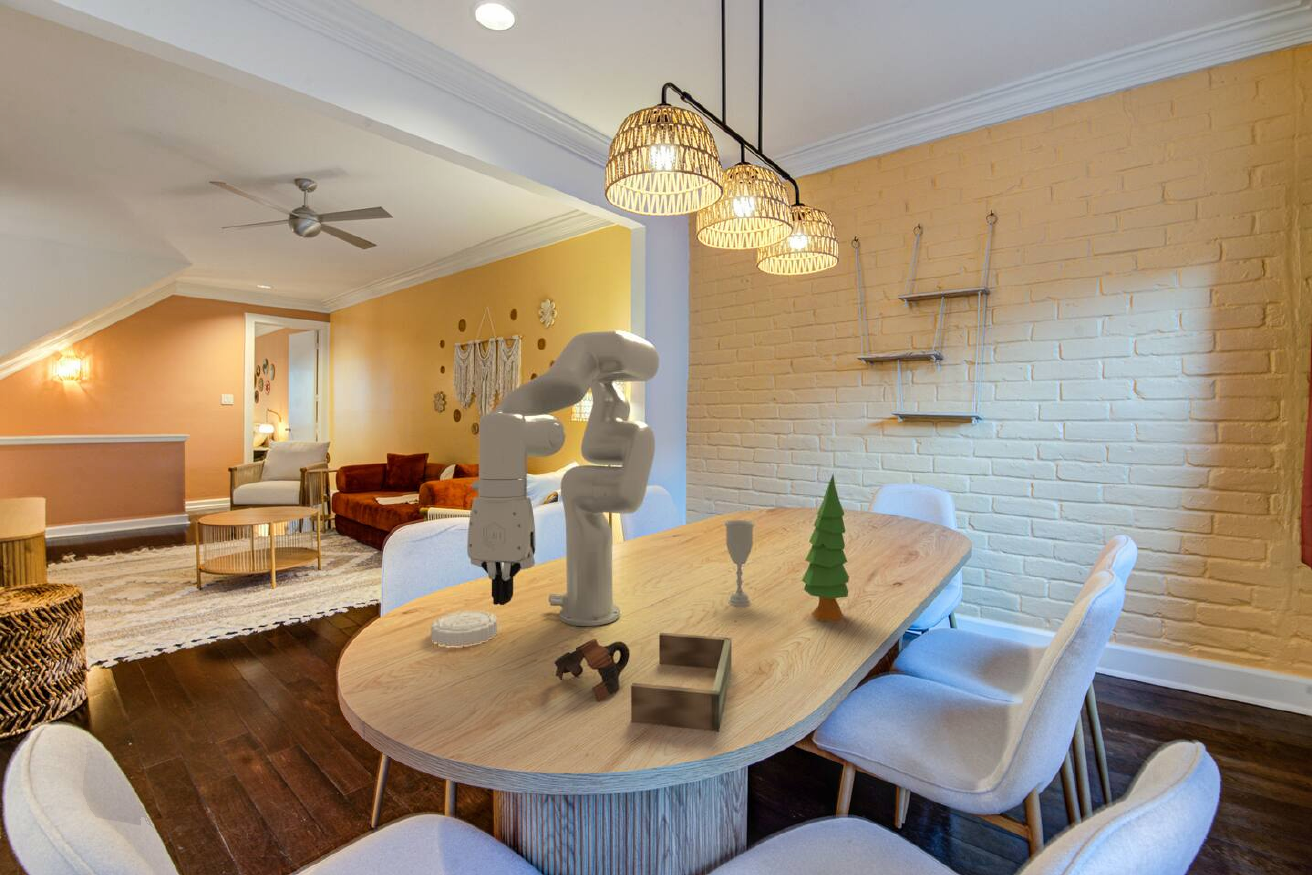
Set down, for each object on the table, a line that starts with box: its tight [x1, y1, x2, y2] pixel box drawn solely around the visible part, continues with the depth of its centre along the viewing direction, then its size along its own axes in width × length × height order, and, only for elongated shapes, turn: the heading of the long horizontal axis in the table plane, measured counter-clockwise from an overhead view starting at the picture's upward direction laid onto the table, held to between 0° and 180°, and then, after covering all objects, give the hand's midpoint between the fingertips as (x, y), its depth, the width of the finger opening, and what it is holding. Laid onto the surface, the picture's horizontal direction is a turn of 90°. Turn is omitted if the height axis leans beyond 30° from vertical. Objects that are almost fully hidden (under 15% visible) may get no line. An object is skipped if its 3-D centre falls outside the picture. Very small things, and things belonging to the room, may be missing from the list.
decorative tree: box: [801, 473, 850, 622], centre depth 121 cm, size 10×9×30 cm
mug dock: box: [630, 632, 732, 732], centre depth 88 cm, size 12×20×5 cm, turn 168°
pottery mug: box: [553, 638, 631, 703], centre depth 91 cm, size 12×10×8 cm
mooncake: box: [430, 610, 498, 646], centre depth 111 cm, size 12×12×4 cm
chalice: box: [723, 519, 756, 608], centre depth 130 cm, size 7×7×18 cm
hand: (502, 602), depth 94 cm, fingers closed
